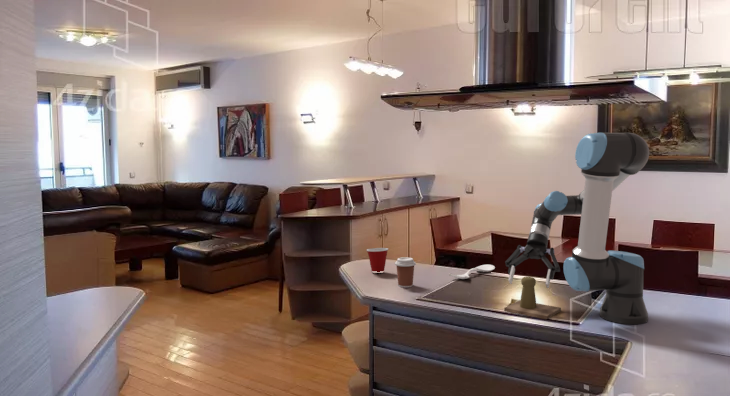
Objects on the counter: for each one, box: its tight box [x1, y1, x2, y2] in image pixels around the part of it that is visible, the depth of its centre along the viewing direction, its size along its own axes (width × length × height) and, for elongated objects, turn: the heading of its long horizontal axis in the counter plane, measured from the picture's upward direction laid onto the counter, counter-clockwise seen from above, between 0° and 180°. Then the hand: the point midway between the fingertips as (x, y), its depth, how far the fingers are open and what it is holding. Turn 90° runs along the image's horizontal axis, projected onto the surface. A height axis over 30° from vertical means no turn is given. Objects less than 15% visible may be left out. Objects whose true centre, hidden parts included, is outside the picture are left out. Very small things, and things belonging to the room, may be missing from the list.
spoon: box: [448, 264, 496, 280], centre depth 258 cm, size 9×32×4 cm, turn 140°
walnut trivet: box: [503, 299, 562, 320], centre depth 200 cm, size 16×13×1 cm
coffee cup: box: [394, 256, 417, 288], centre depth 239 cm, size 9×9×12 cm
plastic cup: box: [366, 247, 389, 272], centre depth 265 cm, size 11×11×12 cm
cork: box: [519, 276, 537, 309], centre depth 201 cm, size 6×6×11 cm
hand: (528, 283), depth 203 cm, fingers open, 13 cm apart
